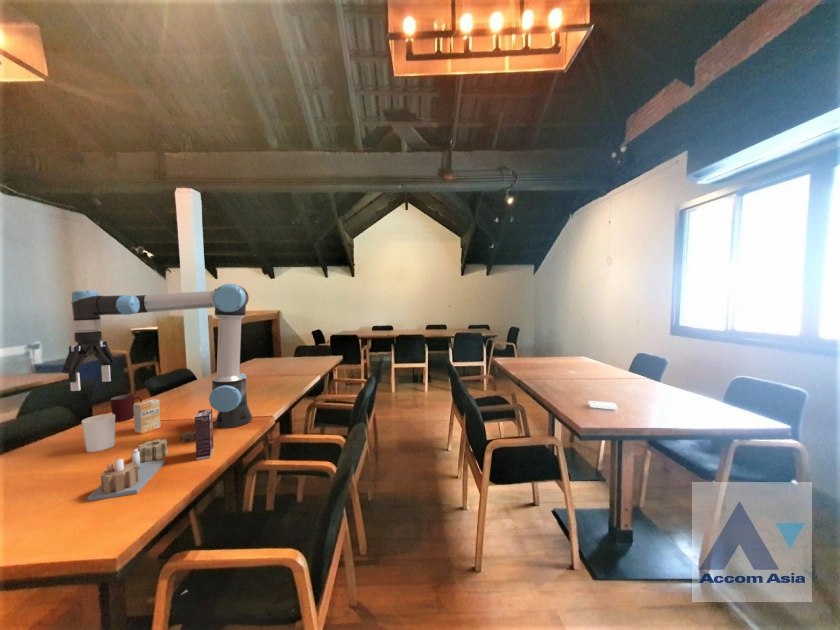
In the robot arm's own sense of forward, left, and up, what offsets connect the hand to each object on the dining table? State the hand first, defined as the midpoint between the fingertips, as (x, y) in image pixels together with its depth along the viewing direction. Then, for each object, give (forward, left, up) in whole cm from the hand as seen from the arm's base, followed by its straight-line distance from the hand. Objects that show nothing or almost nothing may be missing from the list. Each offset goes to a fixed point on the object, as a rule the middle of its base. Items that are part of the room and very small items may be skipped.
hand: (92, 385), depth 132 cm
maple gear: (-24, +14, -26) cm, 38 cm away
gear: (-31, 0, -26) cm, 40 cm away
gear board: (-24, +31, -26) cm, 47 cm away
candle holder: (0, -3, -26) cm, 26 cm away
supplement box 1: (-10, -18, -26) cm, 33 cm away
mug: (+7, -40, -26) cm, 48 cm away
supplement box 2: (-42, +18, -26) cm, 53 cm away
